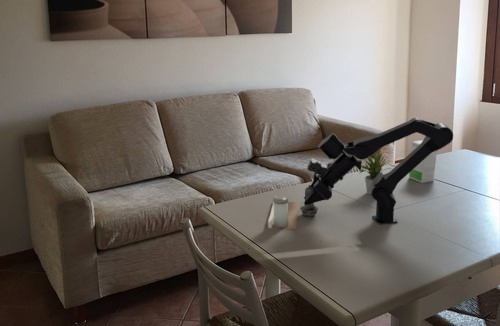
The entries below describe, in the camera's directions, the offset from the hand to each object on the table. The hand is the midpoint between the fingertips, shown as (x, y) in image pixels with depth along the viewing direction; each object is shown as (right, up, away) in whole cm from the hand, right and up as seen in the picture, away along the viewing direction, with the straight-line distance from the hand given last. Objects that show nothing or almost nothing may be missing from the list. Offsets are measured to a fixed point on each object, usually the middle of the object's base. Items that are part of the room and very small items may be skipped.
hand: (305, 199), depth 183 cm
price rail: (-11, -6, +3) cm, 13 cm away
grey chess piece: (+1, -7, +2) cm, 7 cm away
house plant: (+29, +1, +26) cm, 39 cm away
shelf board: (-7, -6, +3) cm, 10 cm away
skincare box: (+52, +5, +40) cm, 66 cm away
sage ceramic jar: (-9, -8, -7) cm, 13 cm away
